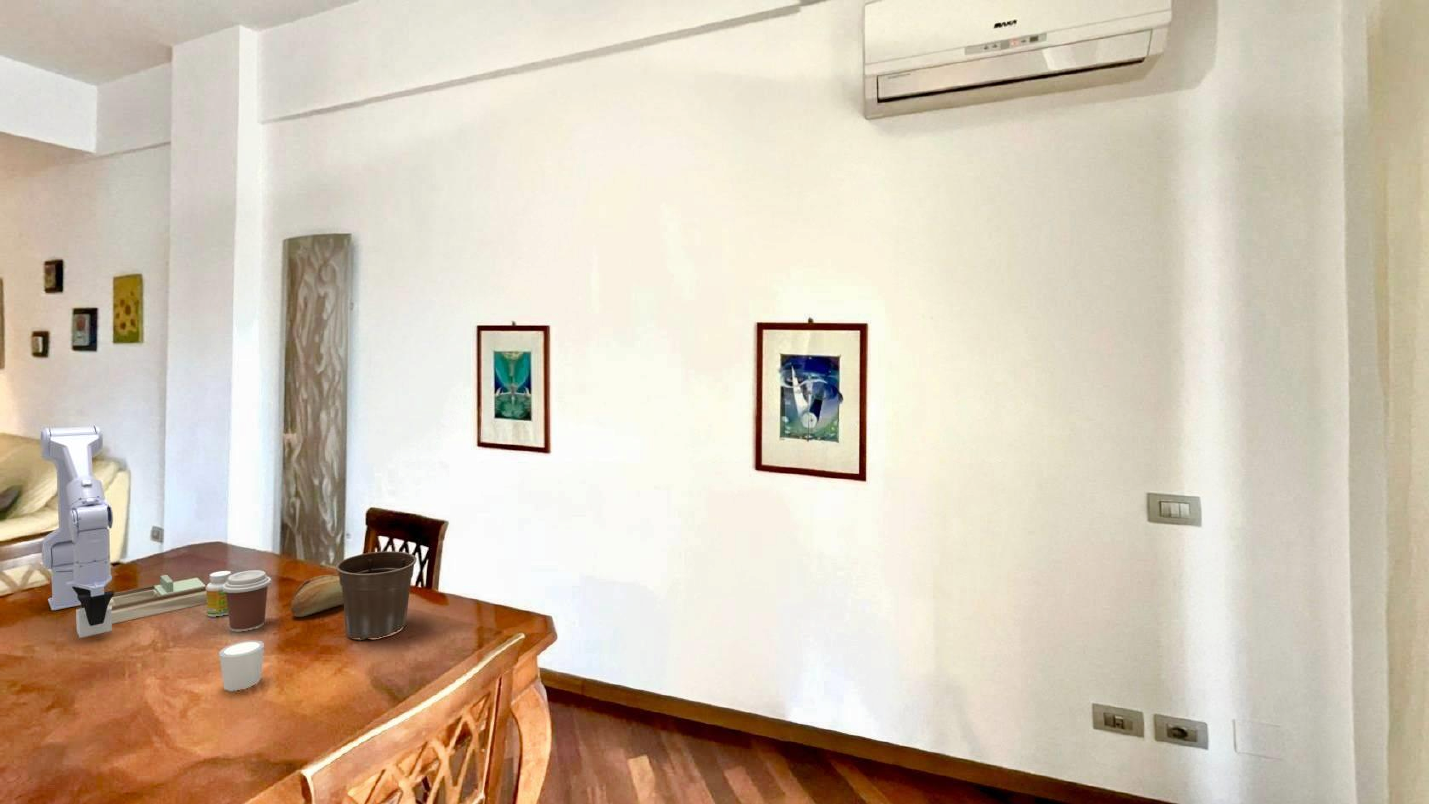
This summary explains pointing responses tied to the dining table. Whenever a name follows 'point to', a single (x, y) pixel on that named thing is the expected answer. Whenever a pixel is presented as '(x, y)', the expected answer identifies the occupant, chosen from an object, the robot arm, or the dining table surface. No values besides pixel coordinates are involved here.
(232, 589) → the coffee cup
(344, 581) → the plant pot
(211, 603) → the supplement bottle
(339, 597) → the bread roll
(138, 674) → the dining table surface
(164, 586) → the cover
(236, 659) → the white round tub
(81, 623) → the grey block
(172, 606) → the sliding lid box
